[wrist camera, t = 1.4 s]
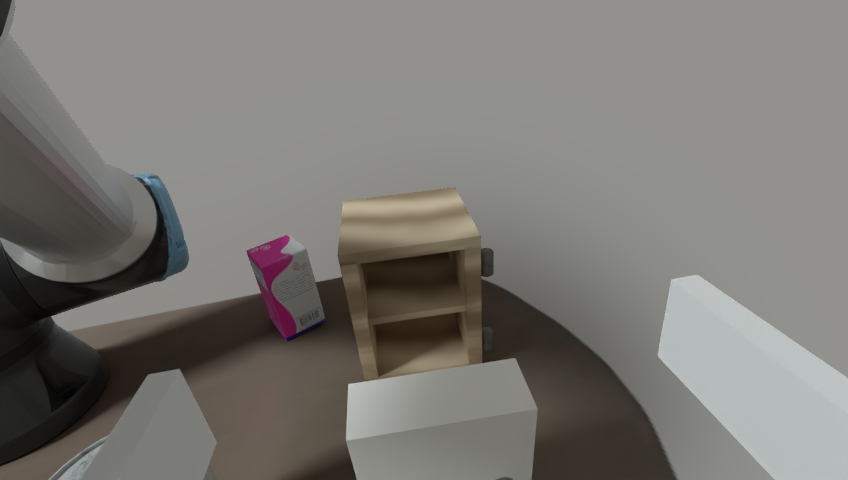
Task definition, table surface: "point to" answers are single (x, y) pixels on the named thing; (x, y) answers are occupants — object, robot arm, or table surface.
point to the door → (444, 425)
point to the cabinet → (414, 282)
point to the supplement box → (287, 286)
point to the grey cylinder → (74, 469)
